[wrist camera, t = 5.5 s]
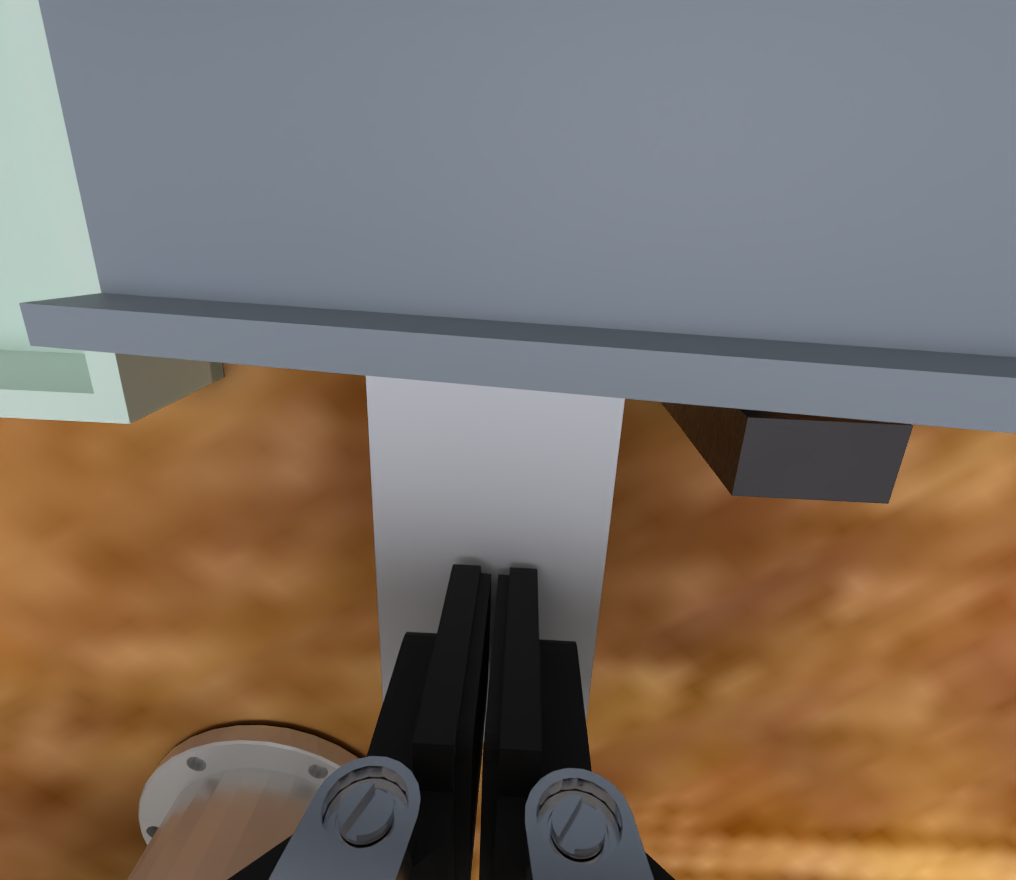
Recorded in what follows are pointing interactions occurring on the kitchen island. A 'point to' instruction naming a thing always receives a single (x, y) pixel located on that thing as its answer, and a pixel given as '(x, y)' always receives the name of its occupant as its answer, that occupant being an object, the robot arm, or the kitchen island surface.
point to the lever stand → (796, 452)
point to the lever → (548, 235)
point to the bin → (57, 255)
